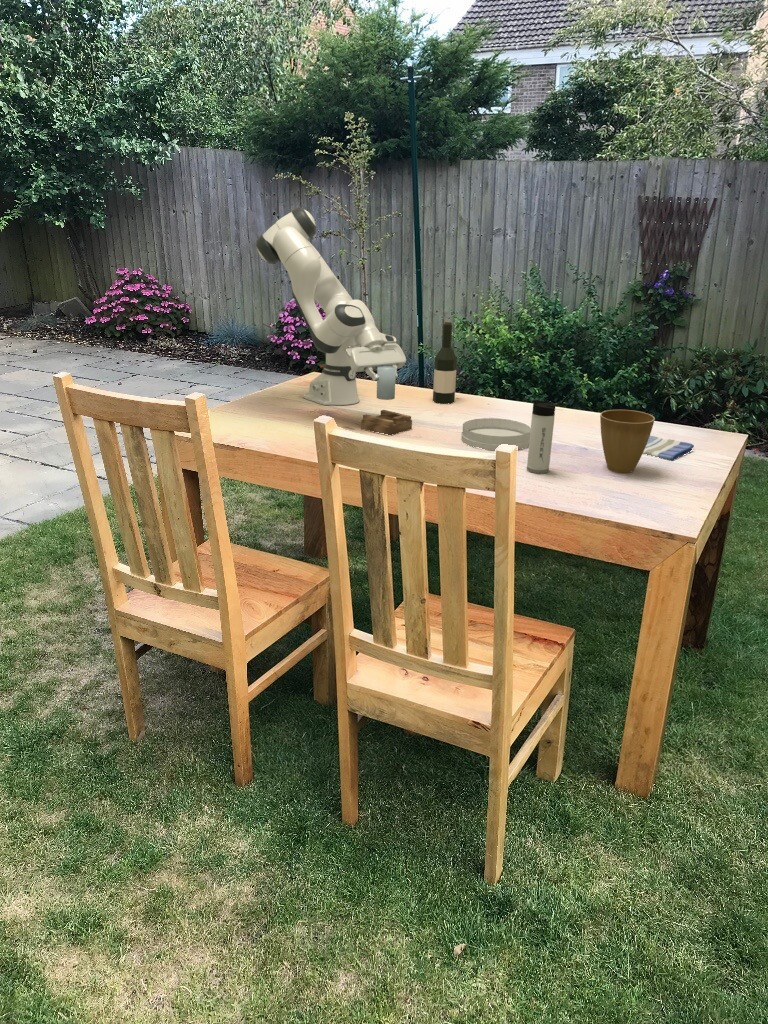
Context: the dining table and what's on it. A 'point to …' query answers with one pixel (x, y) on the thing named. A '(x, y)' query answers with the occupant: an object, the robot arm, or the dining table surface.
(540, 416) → the travel mug
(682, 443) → the dish towel
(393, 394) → the grey domed cylinder
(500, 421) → the dish
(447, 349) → the wine bottle
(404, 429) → the chest
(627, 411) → the plant pot
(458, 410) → the dining table surface
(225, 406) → the dining table surface
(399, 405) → the dining table surface
